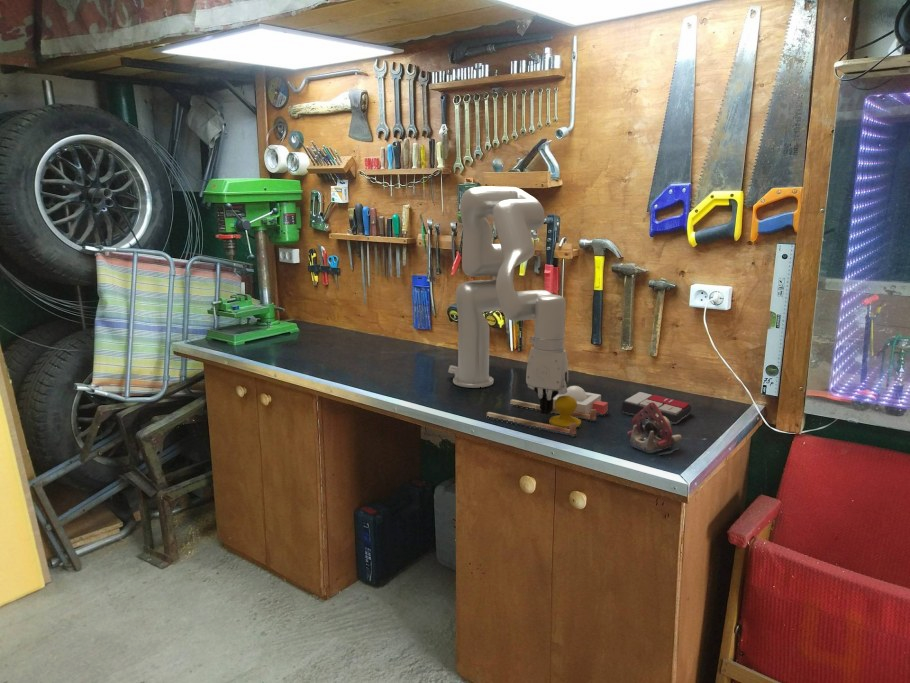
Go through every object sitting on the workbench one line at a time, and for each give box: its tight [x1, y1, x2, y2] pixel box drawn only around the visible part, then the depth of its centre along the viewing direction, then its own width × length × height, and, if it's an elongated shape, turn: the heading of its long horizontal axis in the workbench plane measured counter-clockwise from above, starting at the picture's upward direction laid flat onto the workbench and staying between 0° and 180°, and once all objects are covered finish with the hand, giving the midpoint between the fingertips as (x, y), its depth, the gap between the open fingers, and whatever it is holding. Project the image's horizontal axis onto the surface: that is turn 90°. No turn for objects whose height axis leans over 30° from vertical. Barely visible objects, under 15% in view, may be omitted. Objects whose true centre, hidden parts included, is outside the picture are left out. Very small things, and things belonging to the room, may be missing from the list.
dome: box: [563, 385, 586, 402], centre depth 183 cm, size 6×6×6 cm
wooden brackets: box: [486, 399, 597, 435], centre depth 175 cm, size 25×15×3 cm, turn 57°
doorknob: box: [548, 396, 582, 428], centre depth 171 cm, size 8×8×8 cm
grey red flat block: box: [621, 391, 692, 422], centre depth 180 cm, size 11×4×15 cm
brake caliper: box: [626, 402, 683, 450], centre depth 157 cm, size 11×11×12 cm
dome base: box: [553, 391, 609, 414], centre depth 182 cm, size 14×11×4 cm
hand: (546, 412), depth 174 cm, fingers closed
